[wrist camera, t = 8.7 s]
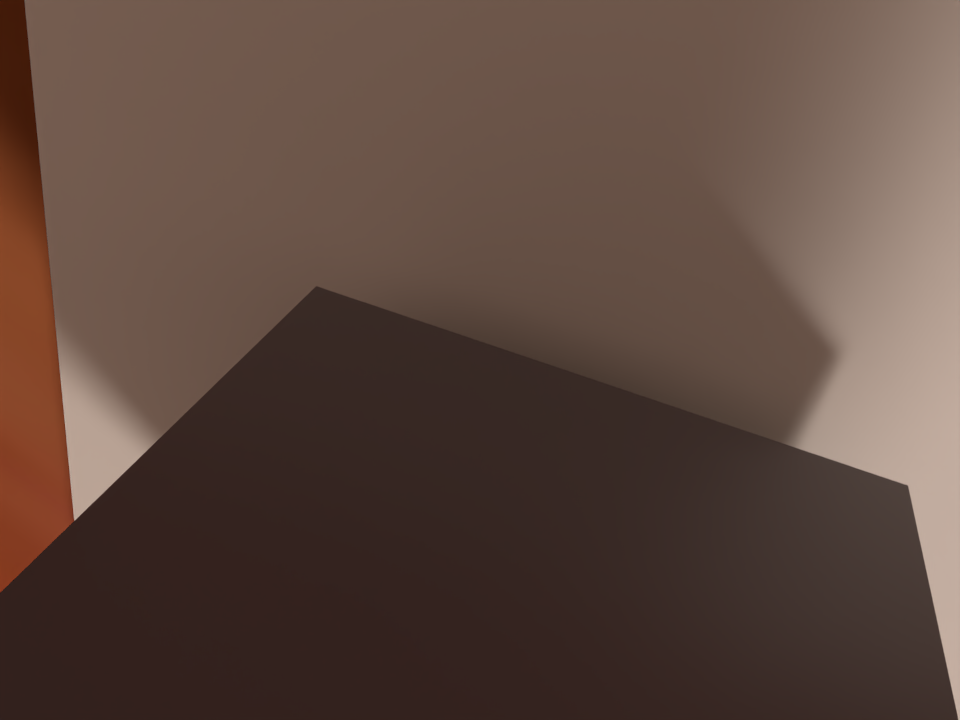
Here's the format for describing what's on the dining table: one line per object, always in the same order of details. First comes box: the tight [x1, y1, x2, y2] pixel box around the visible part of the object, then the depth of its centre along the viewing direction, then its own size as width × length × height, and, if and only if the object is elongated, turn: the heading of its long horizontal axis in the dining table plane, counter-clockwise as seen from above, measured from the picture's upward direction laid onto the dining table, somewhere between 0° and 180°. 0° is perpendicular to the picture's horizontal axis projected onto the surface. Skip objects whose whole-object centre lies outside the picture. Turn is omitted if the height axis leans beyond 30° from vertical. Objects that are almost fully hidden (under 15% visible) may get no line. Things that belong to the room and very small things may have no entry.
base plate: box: [24, 0, 960, 720], centre depth 10 cm, size 14×14×6 cm
